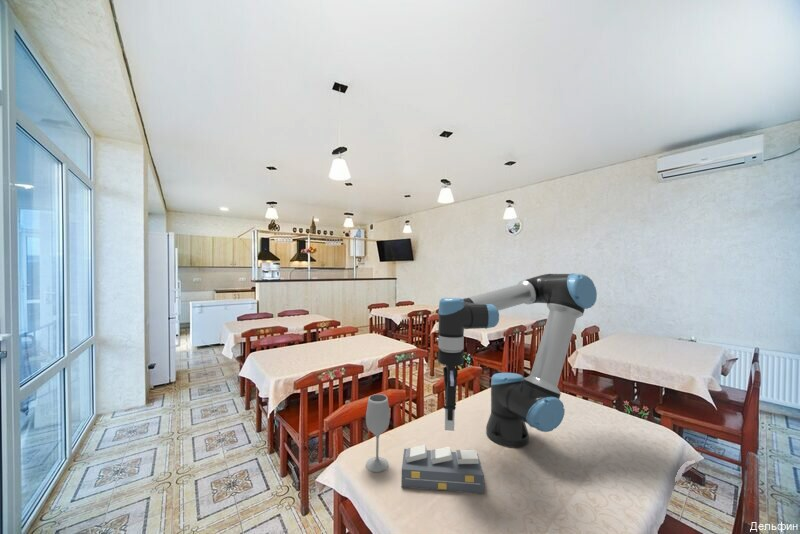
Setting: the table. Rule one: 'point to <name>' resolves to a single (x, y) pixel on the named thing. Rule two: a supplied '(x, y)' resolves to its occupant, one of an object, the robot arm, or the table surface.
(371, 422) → the wineglass
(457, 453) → the rocker
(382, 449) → the table surface
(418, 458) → the rocker
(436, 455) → the rocker
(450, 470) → the console
